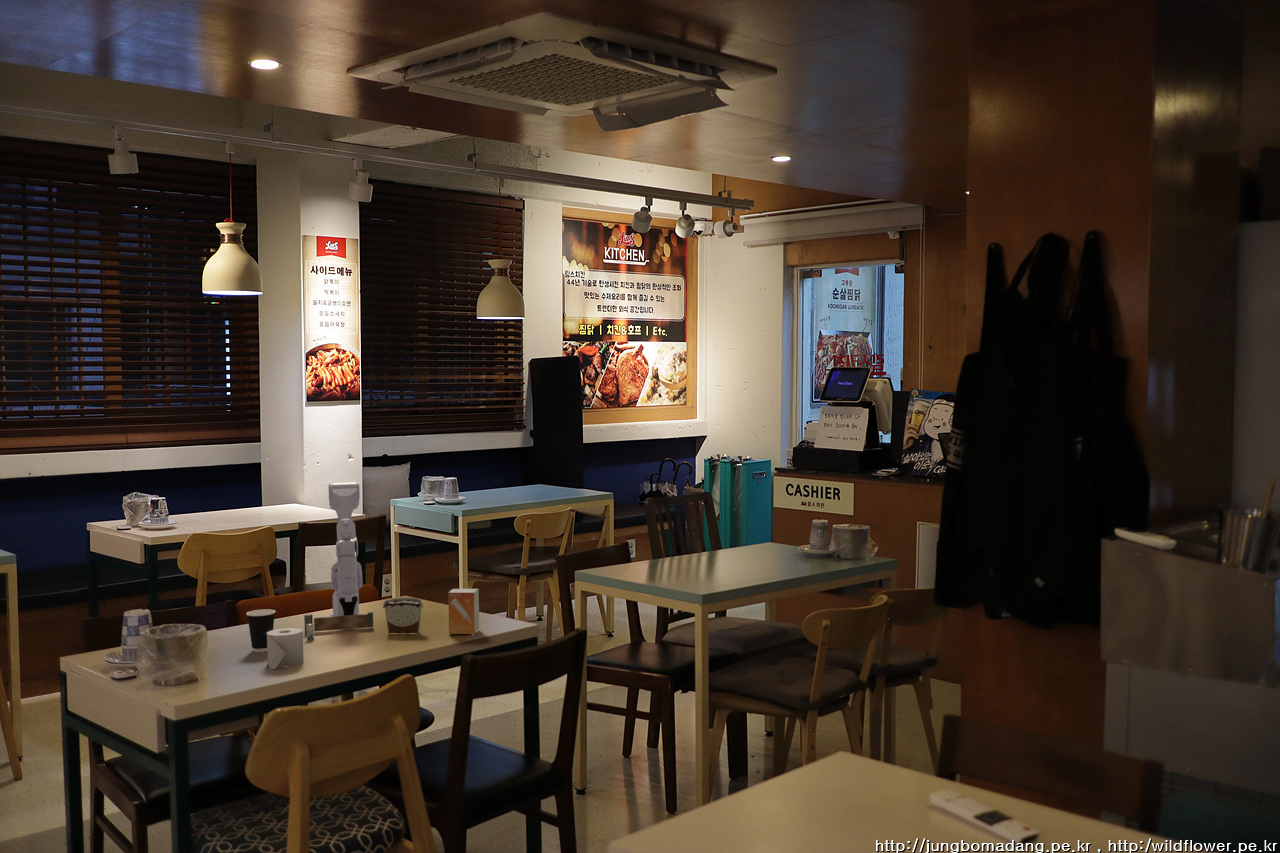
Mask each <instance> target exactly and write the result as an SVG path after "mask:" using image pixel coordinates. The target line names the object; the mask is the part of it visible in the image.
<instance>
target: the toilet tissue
mask: <svg viewBox="0 0 1280 853" xmlns="http://www.w3.org/2000/svg"><path fill="white" fill-rule="evenodd" d="M266 652H267V666H268V665H269V666H268V668H269V669H270V668H272V669H275V670H276V669H277V668H288V667H287V666H290V667H293V666H292V665H295V666H298V665H297V664H299V665H300V663H301V664H303V663H304V631H303V629H302V628H297V627H285V628H284V627H283V628H276V629H273V630H272V631H269V632H267V651H266ZM302 662H303V663H302ZM284 666H285V667H284ZM272 669H271V670H272Z"/></svg>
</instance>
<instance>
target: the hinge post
mask: <svg viewBox="0 0 1280 853" xmlns="http://www.w3.org/2000/svg"><path fill="white" fill-rule="evenodd" d="M303 617H304V634H305V635H307V628H306V624H313V625H314V617H313V614H309V613H307V614H305V615H303Z"/></svg>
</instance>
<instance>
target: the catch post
mask: <svg viewBox="0 0 1280 853" xmlns="http://www.w3.org/2000/svg"><path fill="white" fill-rule="evenodd" d="M306 628H307V634H306V641H311V640H310V639H313V640H315V636H314V633H315V631H314V623H313V624H306Z"/></svg>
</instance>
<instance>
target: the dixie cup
mask: <svg viewBox="0 0 1280 853" xmlns="http://www.w3.org/2000/svg"><path fill="white" fill-rule="evenodd" d="M275 613H277V612H276V610H274V609H271V608H270V609H269V608H267V609H254V610H251V611H247V612H246V616H247V622H248V629H249V636H250V642H251V644H250V645H251V648H252V650H253V652H254V651H255V652H254V653H265V652H264V651H266V652H267V632H269V631H272V630H274V624H275Z"/></svg>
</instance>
